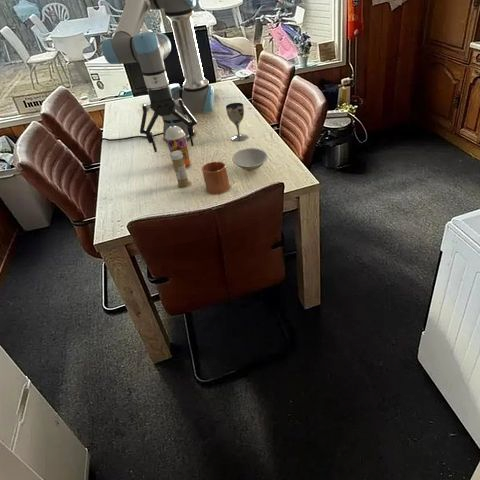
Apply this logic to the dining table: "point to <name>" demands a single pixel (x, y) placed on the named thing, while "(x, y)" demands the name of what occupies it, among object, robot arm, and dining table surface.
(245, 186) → the dining table surface
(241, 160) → the dish
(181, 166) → the sprinkles bottle
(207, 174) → the tumbler
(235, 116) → the wine glass
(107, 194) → the dining table surface
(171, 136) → the smoothie
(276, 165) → the dining table surface
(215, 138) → the dining table surface
